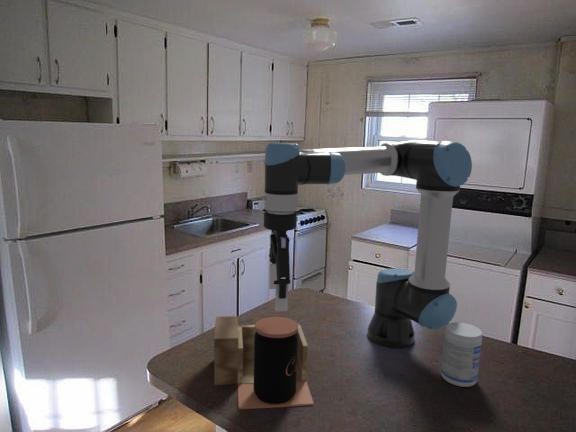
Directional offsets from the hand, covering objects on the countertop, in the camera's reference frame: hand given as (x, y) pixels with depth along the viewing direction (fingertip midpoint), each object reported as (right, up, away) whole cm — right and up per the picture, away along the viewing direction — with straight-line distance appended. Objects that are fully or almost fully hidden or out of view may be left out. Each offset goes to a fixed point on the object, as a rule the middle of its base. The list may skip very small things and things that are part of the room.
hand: (277, 299), depth 101 cm
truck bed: (-6, -24, +16) cm, 29 cm away
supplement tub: (+50, -26, +17) cm, 59 cm away
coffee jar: (-1, -25, +5) cm, 25 cm away
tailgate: (-2, -24, +10) cm, 26 cm away
